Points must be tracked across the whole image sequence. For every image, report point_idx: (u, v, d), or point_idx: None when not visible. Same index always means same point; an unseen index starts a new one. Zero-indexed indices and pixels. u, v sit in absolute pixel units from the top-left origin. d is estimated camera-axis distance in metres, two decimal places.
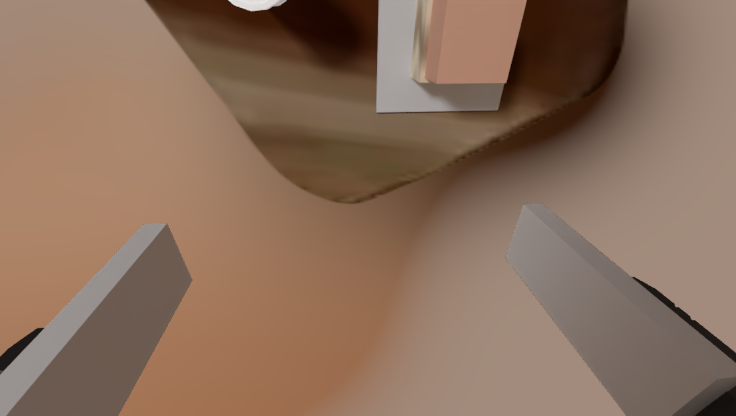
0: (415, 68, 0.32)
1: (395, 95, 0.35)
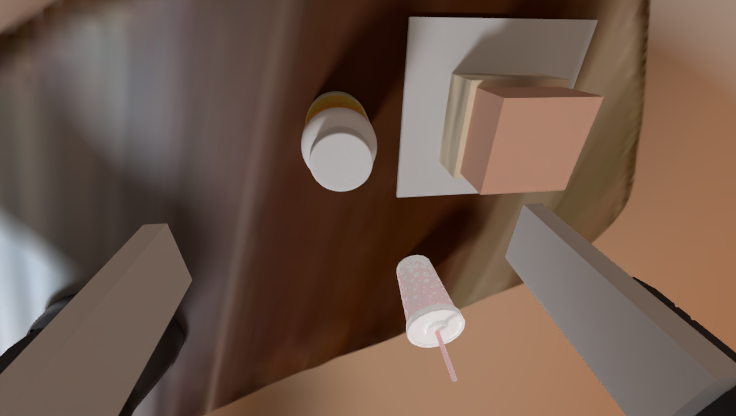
0: None
1: None
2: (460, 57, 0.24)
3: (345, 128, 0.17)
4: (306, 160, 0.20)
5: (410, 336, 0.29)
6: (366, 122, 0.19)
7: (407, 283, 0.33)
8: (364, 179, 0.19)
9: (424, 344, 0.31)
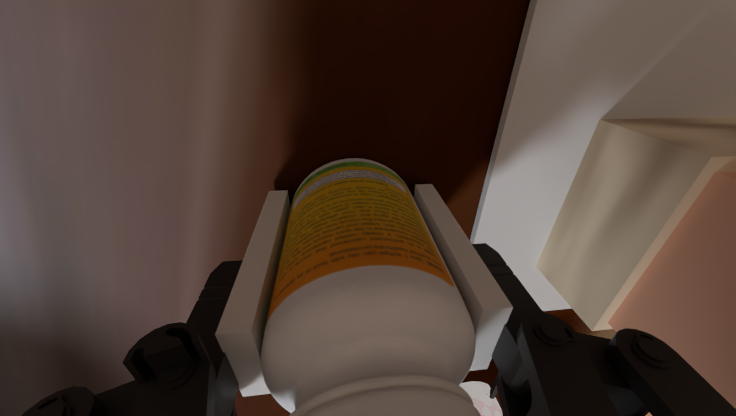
0: None
1: None
2: (627, 86, 0.11)
3: (411, 407, 0.04)
4: (276, 399, 0.07)
5: None
6: (457, 308, 0.06)
7: None
8: None
9: None
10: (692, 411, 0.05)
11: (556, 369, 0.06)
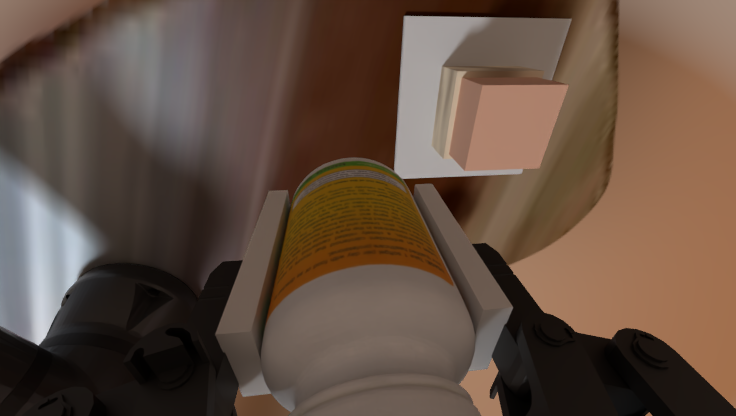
0: None
1: None
2: (449, 51, 0.27)
3: (410, 405, 0.04)
4: (276, 398, 0.07)
5: None
6: (457, 307, 0.06)
7: None
8: None
9: None
10: (692, 411, 0.05)
11: (556, 369, 0.06)
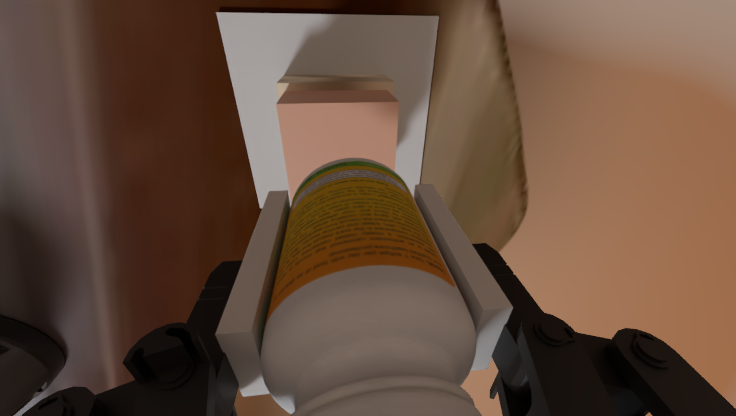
0: None
1: None
2: (289, 57, 0.22)
3: (412, 408, 0.04)
4: (276, 400, 0.07)
5: None
6: (458, 308, 0.06)
7: None
8: None
9: None
10: (692, 411, 0.05)
11: (556, 369, 0.06)
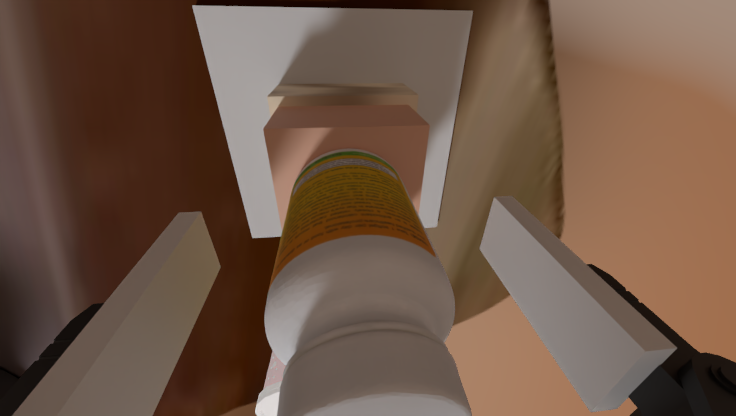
0: None
1: None
2: (285, 62, 0.17)
3: (391, 343, 0.05)
4: (278, 357, 0.08)
5: None
6: (437, 273, 0.07)
7: None
8: None
9: None
10: None
11: None
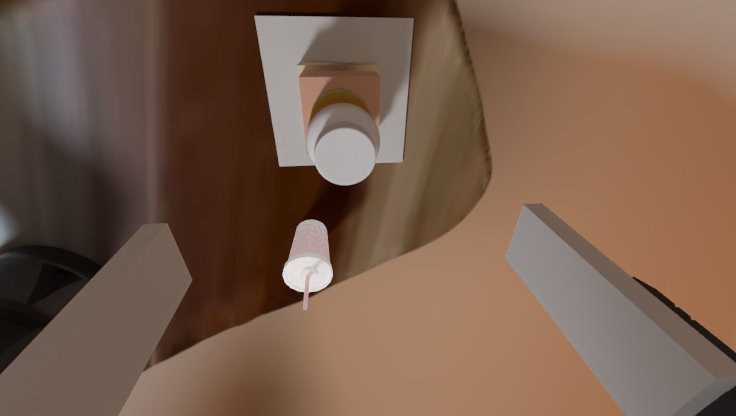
0: None
1: (388, 146, 0.37)
2: (304, 48, 0.30)
3: (349, 123, 0.18)
4: (310, 155, 0.20)
5: (286, 280, 0.36)
6: (370, 117, 0.20)
7: (294, 240, 0.39)
8: (367, 173, 0.19)
9: (302, 289, 0.37)
10: None
11: None
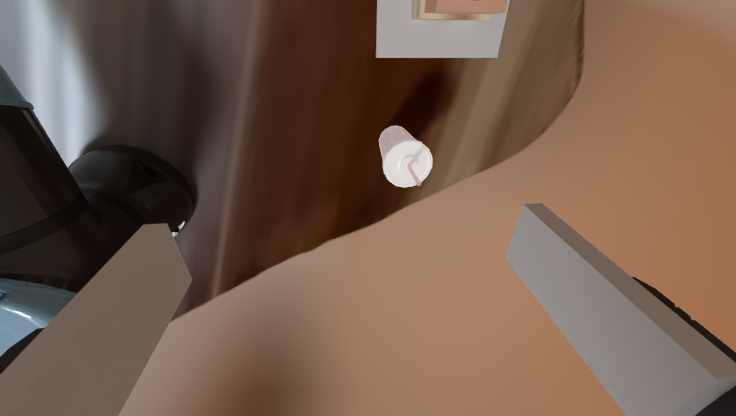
0: (471, 20, 0.33)
1: (487, 37, 0.36)
2: None
3: None
4: None
5: (386, 171, 0.35)
6: None
7: (385, 139, 0.38)
8: None
9: (399, 183, 0.36)
10: None
11: None
